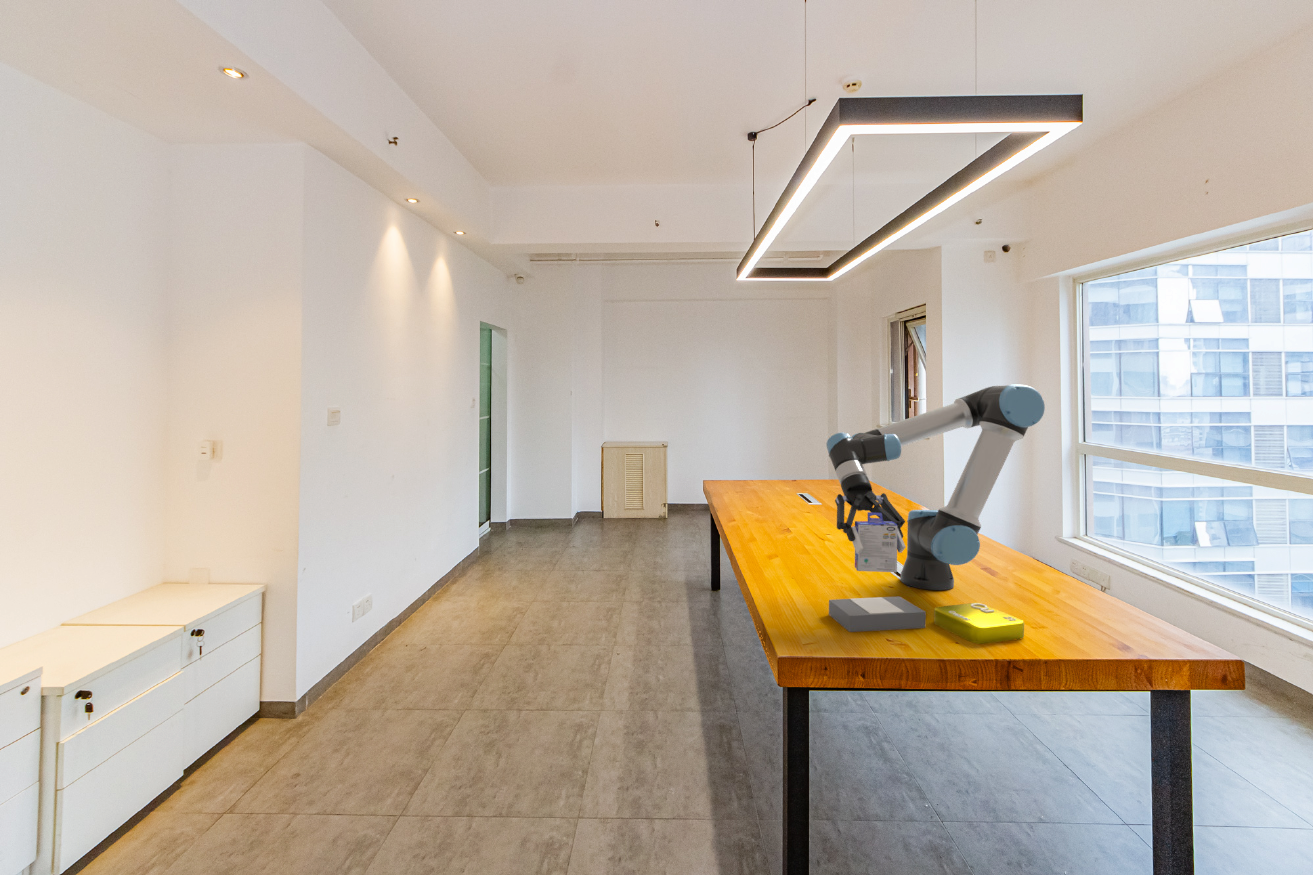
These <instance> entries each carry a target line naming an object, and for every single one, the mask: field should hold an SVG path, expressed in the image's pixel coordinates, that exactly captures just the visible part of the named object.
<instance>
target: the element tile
mask: <svg viewBox="0 0 1313 875" xmlns="http://www.w3.org/2000/svg"><path fill="white" fill-rule="evenodd" d="M933 615H934V617H933V620H934V621H933V623H934V625H935V626H938V627H940V628H941V629H944V630H946V631H948V632H950V633H952V634H954V635H955V636H958V637H959V638H960V637H961V638H962V639H963V640H966V641H968V642H970V643H974V644H977V645H978V644H979V645H987V644H992V643H1001V642H1009V641H1015V640H1014V639H1017V640H1021V639H1020V638H1022V639H1024V638H1023V637H1025V621H1024V620H1022V618H1021V619H1020V618H1018V617H1015V616H1013V615H1011V614H1008V613H1006V612H1003V611H1001V610H998V609H997V608H993V607H990V606H989V605H986V604H983V603H981V602H970V603H969V602H968V603H963V604H962V603H961V604H952V605H951V604H950V605H942V606H936V607H934V613H933Z"/></svg>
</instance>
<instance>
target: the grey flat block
mask: <svg viewBox="0 0 1313 875" xmlns="http://www.w3.org/2000/svg"><path fill="white" fill-rule="evenodd" d="M926 613H927V612H926V611H925V610H923V609H921V608H919V606H916V605H914V604H913V603H911V602H910V601H908V600H907V599H904V598H903V597H902V596H884V597H883V596H882V597H881V596H878V597H877V596H876V597H861V598H859V597H858V598H839V599H837V598H836V599H829V600H828V616H830V617H831V618H832V619H833V620H834V621H836V622H837V623H838V624H839V625H841V627H843V628H844V629H846V630H847V631H848V632H849V633H854V632H855V633H857V632H873V631H876V632H877V631H890V630H891V631H893V630H906V629H907V630H909V629H912V630H913V629H925V628H926V624H927V623H926V620H927V619H926V618H927V617H926V616H927V614H926Z"/></svg>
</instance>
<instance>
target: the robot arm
mask: <svg viewBox="0 0 1313 875" xmlns="http://www.w3.org/2000/svg"><path fill="white" fill-rule="evenodd" d="M1045 408H1046V406H1045V401H1044V400H1043V397H1042V395H1041V393H1040V392H1039V391H1038V390H1037V389H1036V388H1034V387H1033V386H1029V385H1026V384H1020V383H1017V384H1015V383H1013V384H1010V385H1008V384H1007V385H993V386H988V387H985V388H982V389H980V390H977V391H975V392H973V393H970V394H969V393H968V395H965V396H961V397H958V398H957V399H954V402H953V403H951V404H949V405H945V406H942V407H939V408H936V409H933V410H930V411H927V412H925V413H921V414H917V415H915V416H912V417H909V418H906V419H902V420H900V421H896V422H893V423H890V424H888V425H884V426H882V427H881V426H880V427H878V428H875V429H872V430H869V431H866V432H858V433H855V434H852V435H850V434H849V433H848V432H836V433H835V434H833V435H831V436H830V437H829V438H828V439H827V440H826V449H827V452H828V457H829V458H830V461H831V462H832V466H833V468H834V470H835V474H836V476H837V479H838V482H839V484H840V487H841V490H842V492H843V495H842V494H840V493H839V494H837V495H836V497H835V499H834V502H835V504H836V529H837V530H842V532H843V533H845V534H846V536H847V538H848V539H847V540H849V542H852V545H853V548H854V552H855V551H856V553H857V554H860V553H861V551H862V550H863V546H862V543H861V541H860V538H859V535H858V533H857V530H856V527H855V525H853V522H854V520H855V516H856V513H857V512H861V511H866V512H867V511H868V512H871V513H882V518H883V521H892V522H894V523H895V524H897V526H898V529H897V553H900V554H901V553H903V551H904V550H905V549H907V550H906V559H905V561H904V563H903V567H902V569H901V572H900V582H901V583H903V584H904V585H906V586H909V587H911V588H916V589H921V590H930V591H945V590H946V591H947V590H951V589H953V588H954V586H955V579H954V575H953V573H952V569H951V566H961V565H962V566H963V565H965V564H968V563H970V562H972V560H974V558H976V556H977V555H978V553H979V551H980V549H981V548H980V547H981V542H980V539H979V536H978V535H979V532H980V530H981V528H982V525H981V522H980V520H979V518H980V516H981V514H982V511H983V510H984V507H985V505H986V503H987V501H988V499H989V496H990V495H991V492H992V490H993V488H994V485H995V484H996V482H997V480H998V477H999V476H1000V473H1001V472H1002V469H1003V466H1004V464H1005V462H1006V460H1007V458H1008V456H1009V454H1010V452H1011V450H1012V447H1013V445H1014V444H1015V442H1016V441H1019V440H1021V439H1024V437H1025V435H1026V433H1027V431H1028V429H1029V427H1032V426H1035V425H1036V424H1037V423H1039V422H1040V421H1041V419H1042V418H1043V416H1044V414H1045V410H1046V409H1045ZM974 427H980V428H981V432H980V435H979V436H978V439H977V440H976V443H975V445H974V447H973V449H972V451H971V452H970V456H969V458H968V460H967V462H966V464H965V466H964V468H963V470H962V473H961V475H960V478H959V479H958V481H957V483H956V486H955V488H954V490H953V493H952V495H951V496H950V499H949V500H948V503H947V505H946V506H945V505H944V506H943V507H939V508H938V510H937V509H936V510H934V509H912V510H910V511H909V512H908V514H907V515H908V516H907V521H906V520H905V519H904V518H903V516H902V515H901V514H900V513H899V511H898V510H897V509H896V508H895V506H894V505H892V503H891V502H890V501H889V499H888V496H887V494H886V493H881V495H880V494H878V495H876V493H874V491H873V488H872V484H871V482H870V480H869V477H868V475H867V473H866V469H865V467H864V465H867V464H873V463H881V462H890V461H893V460H898V459H899V458H900V457H901V455H902V447H903V446H906V445H907V446H908V445H909V444H910V445H911V444H914V443H917V442H919V441H922V440H926V439H929V438H931V437H935V436H938V435H941V434H943V433H948V432H951V431H954V430H957V429H960V428H964V429H970V428H974ZM845 503H847V504H848V505H849V506H850V510H849V513H848V515H847V519H846V522H845ZM877 518H880V516H877ZM906 522H907V533H906V534H907V541H906V543H907V546H906V545H905V542H904V540H903V537H904V534H903V531H902V529H901V528H902V527H903V526H904V525H905V523H906ZM906 547H907V548H906Z"/></svg>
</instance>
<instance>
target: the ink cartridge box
mask: <svg viewBox="0 0 1313 875" xmlns="http://www.w3.org/2000/svg"><path fill="white" fill-rule="evenodd" d="M871 516H877V517H871ZM878 516H880V518H879V517H878ZM854 526H855V527H856V530H857V533H858V535H859V538H860V541H861V543H862V546H863V550H862V551H861V553H860V554H857V553H856V551H855V550H854V568H855V569H856V571H857V572H877V573H878V572H880V573H897V571H898V550H897V529H898V526H897V524H895V523H894V522H892V521H883V518H882V513H871V512H870V511H868V512H867V521H866V520H864V521H862V520H860V521H859V520H855V521H854Z"/></svg>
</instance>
